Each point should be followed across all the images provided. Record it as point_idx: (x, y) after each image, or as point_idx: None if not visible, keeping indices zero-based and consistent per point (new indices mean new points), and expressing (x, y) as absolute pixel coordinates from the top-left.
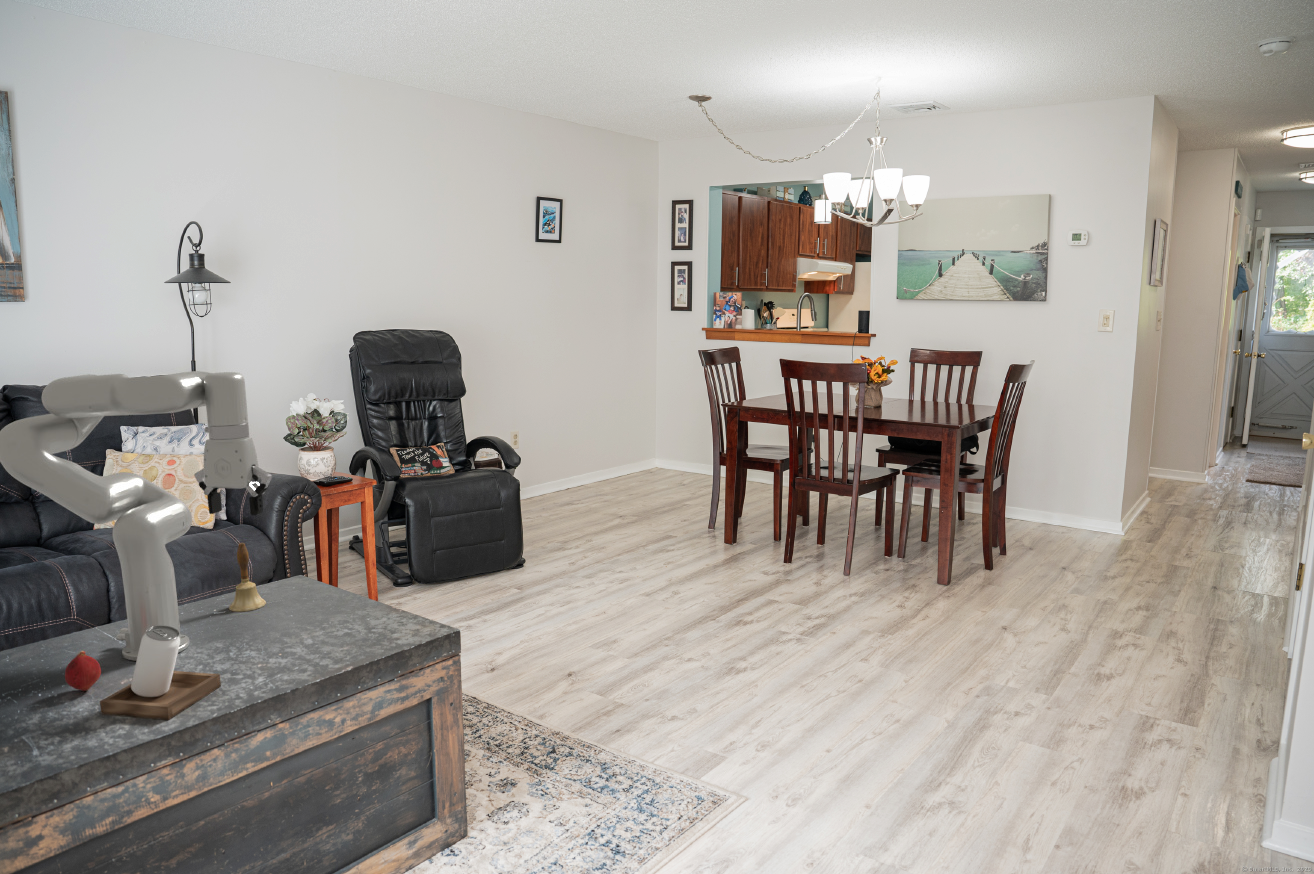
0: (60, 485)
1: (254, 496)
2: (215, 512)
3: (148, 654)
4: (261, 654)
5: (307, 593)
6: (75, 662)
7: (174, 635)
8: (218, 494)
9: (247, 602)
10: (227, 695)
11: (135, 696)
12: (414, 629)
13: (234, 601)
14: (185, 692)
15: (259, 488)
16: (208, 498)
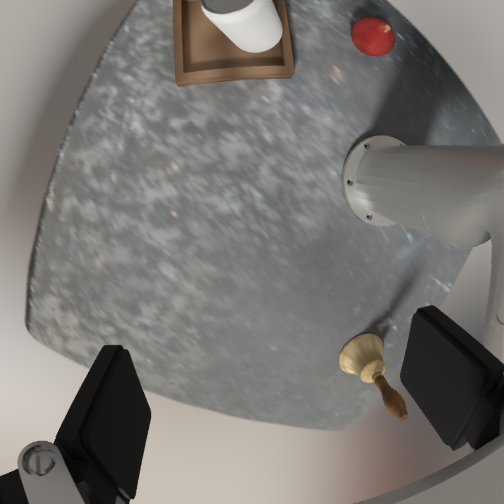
0: None
1: (44, 443)
2: (409, 333)
3: None
4: (204, 204)
5: (306, 408)
6: (379, 19)
7: (212, 4)
8: (453, 432)
9: (356, 350)
10: (147, 69)
11: None
12: (68, 339)
13: (376, 346)
14: (181, 24)
15: (7, 496)
16: (488, 356)
